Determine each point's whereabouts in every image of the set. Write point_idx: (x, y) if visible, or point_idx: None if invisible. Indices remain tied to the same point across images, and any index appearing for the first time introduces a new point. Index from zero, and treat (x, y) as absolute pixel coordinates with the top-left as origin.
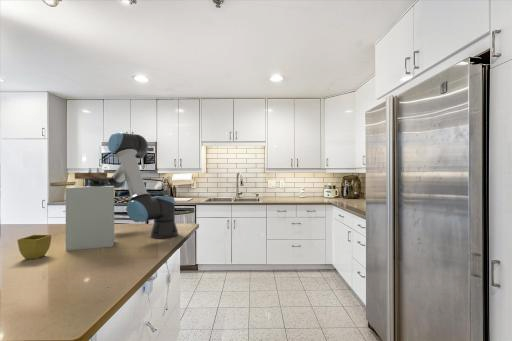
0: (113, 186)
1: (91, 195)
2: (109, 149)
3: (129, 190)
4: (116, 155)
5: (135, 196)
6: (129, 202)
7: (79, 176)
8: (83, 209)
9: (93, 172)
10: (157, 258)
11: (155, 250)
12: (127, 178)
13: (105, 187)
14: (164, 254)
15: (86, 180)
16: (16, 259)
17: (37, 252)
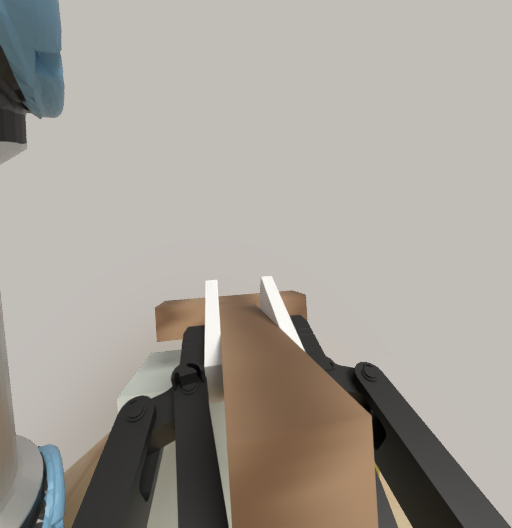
0: (134, 375)
1: None
2: (58, 28)
3: (12, 449)
4: (17, 152)
5: (27, 440)
6: (62, 465)
7: None
8: None
9: (329, 377)
10: (104, 443)
11: (69, 500)
12: (8, 370)
13: (176, 351)
14: (76, 464)
15: (373, 442)
16: (380, 475)
17: None
